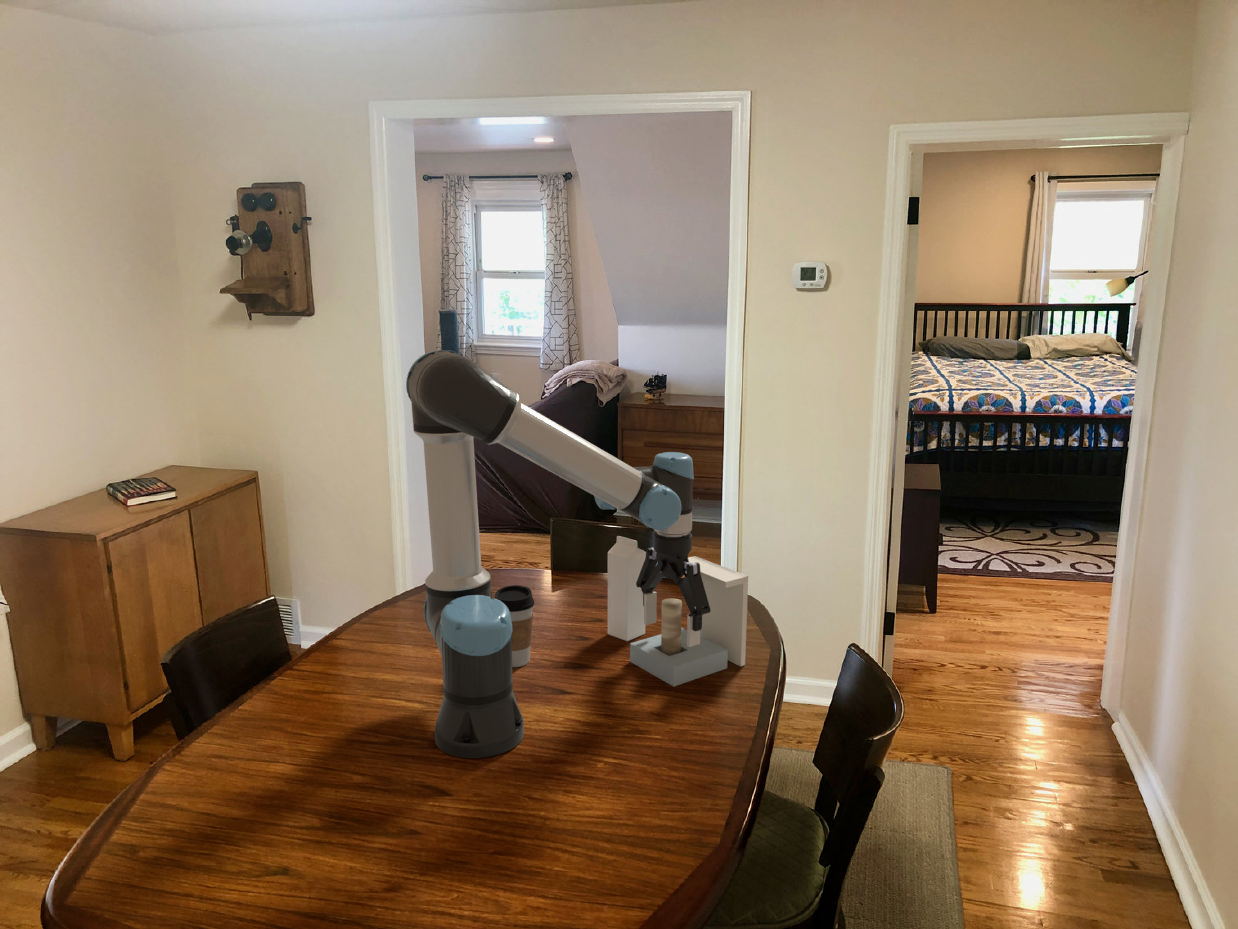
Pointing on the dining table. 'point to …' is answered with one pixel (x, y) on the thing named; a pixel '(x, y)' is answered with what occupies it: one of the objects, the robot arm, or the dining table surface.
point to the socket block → (679, 659)
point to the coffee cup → (519, 620)
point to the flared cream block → (725, 608)
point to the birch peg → (671, 626)
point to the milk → (625, 590)
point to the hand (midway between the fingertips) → (671, 633)
